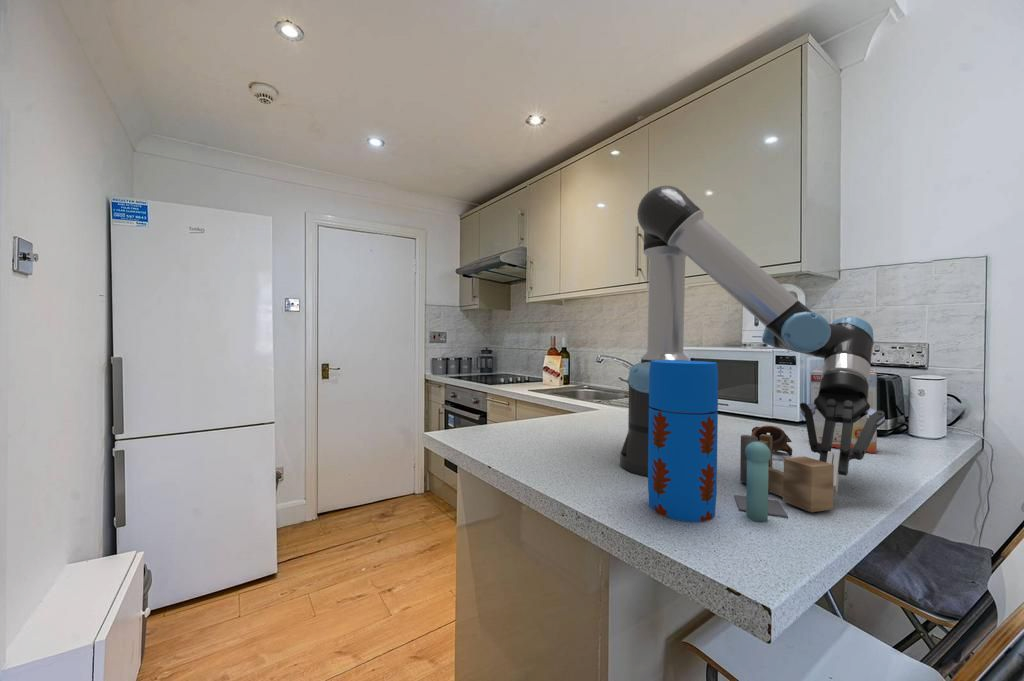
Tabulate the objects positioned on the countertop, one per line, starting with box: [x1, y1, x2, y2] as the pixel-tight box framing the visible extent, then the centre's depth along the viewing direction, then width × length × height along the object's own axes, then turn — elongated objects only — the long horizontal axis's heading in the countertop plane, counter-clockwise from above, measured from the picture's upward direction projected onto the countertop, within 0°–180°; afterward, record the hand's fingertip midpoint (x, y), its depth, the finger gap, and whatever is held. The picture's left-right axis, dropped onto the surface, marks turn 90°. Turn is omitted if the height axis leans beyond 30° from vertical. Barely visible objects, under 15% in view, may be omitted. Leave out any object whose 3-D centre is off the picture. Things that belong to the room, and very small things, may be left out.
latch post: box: [745, 442, 771, 523], centre depth 67 cm, size 4×4×12 cm
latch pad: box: [733, 494, 789, 519], centre depth 71 cm, size 7×7×1 cm
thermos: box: [647, 360, 719, 523], centre depth 70 cm, size 11×11×25 cm
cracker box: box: [810, 369, 878, 454], centre depth 113 cm, size 14×6×21 cm, turn 49°
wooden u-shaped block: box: [739, 434, 834, 513], centre depth 76 cm, size 16×5×9 cm, turn 17°
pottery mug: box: [750, 425, 793, 456], centre depth 106 cm, size 12×10×8 cm
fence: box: [758, 434, 773, 468], centre depth 88 cm, size 2×10×8 cm, turn 134°
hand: (830, 488), depth 71 cm, fingers closed
